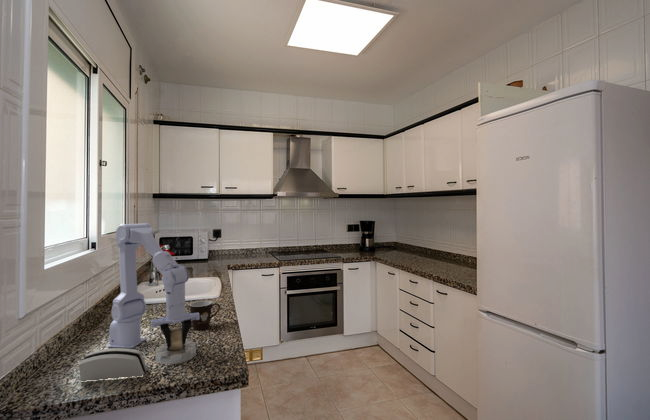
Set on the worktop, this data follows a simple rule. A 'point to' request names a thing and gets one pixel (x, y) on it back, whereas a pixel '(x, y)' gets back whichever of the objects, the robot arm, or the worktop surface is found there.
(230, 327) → the worktop surface
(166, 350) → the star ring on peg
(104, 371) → the grey arched block
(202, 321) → the coffee mug
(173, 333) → the tan cylinder
